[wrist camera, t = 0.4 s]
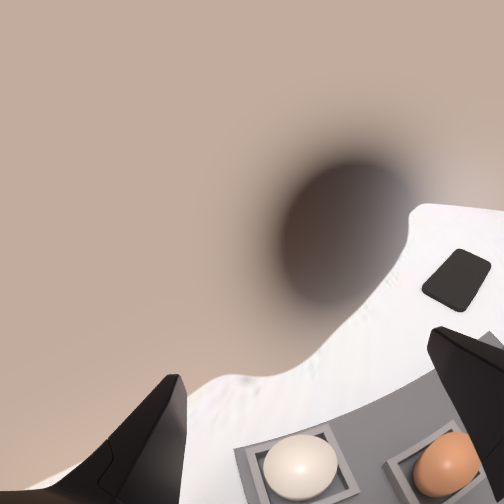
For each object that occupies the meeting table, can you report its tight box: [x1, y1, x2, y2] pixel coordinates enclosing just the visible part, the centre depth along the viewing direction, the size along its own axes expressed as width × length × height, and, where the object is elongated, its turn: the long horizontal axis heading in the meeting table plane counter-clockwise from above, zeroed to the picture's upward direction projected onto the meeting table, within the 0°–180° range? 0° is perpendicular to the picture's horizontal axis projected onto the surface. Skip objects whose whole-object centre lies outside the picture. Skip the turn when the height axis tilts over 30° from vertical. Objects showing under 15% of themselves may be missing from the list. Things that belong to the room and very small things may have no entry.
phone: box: [422, 249, 491, 312], centre depth 33 cm, size 7×1×15 cm
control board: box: [234, 331, 504, 504], centre depth 13 cm, size 18×28×4 cm, turn 103°
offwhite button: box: [263, 435, 338, 501], centre depth 14 cm, size 5×5×2 cm
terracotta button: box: [413, 432, 481, 498], centre depth 11 cm, size 5×5×2 cm
